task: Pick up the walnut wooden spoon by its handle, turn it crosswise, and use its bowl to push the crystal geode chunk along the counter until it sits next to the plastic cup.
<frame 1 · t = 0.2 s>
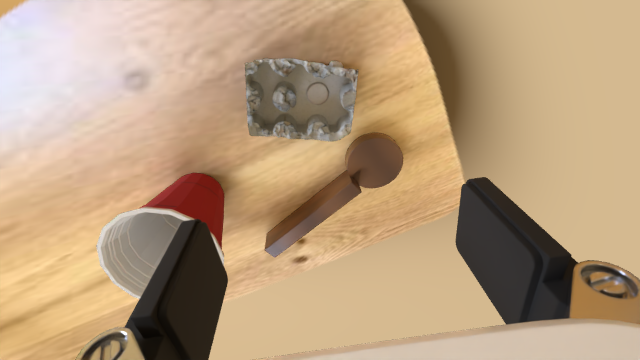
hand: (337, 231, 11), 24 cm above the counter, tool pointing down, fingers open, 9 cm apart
spoon: (327, 193, 38), on the counter
plastic cup: (199, 190, 37), on the counter
crystal geode chunk: (301, 94, 32), on the counter
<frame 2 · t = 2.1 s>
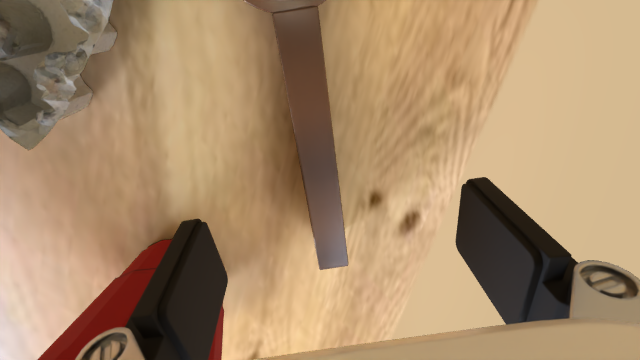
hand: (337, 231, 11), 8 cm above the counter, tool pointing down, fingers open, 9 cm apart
spoon: (307, 92, 17), on the counter
plastic cup: (179, 266, 22), on the counter
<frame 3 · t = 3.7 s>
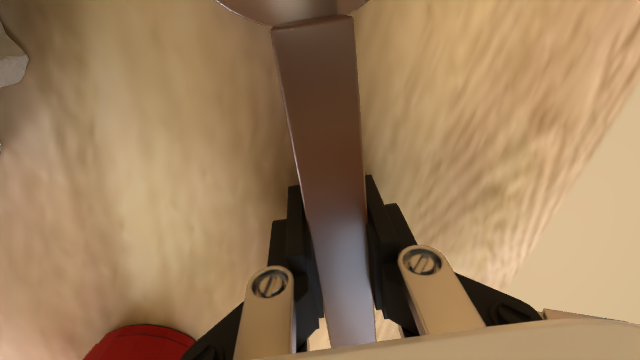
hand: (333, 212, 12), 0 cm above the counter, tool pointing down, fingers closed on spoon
spoon: (324, 140, 11), on the counter, touching gripper
plastic cup: (150, 353, 17), on the counter
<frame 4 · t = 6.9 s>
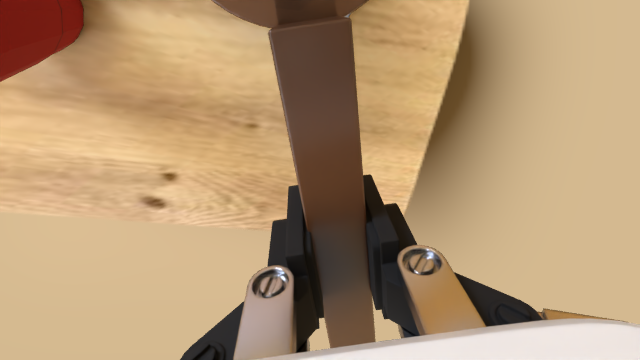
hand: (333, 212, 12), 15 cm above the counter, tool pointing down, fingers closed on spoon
spoon: (323, 140, 11), point 14 cm above the counter, touching gripper
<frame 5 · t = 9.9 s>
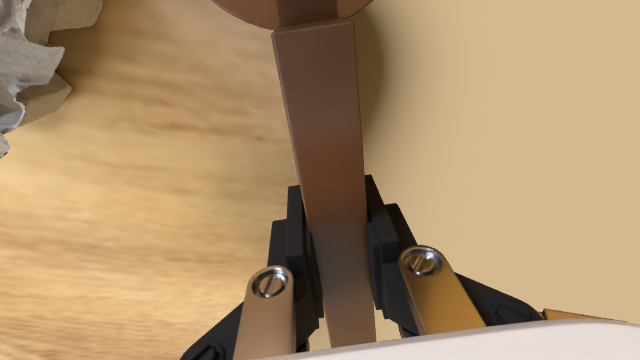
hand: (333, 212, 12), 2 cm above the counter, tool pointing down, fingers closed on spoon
spoon: (324, 142, 11), point 1 cm above the counter, touching gripper
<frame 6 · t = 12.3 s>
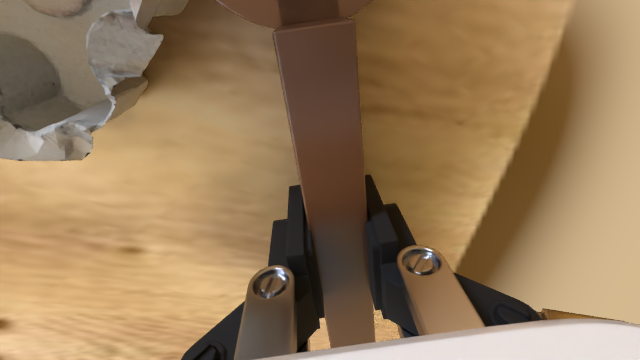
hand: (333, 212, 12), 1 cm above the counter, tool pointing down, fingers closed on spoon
spoon: (324, 140, 11), on the counter, touching crystal geode chunk, gripper
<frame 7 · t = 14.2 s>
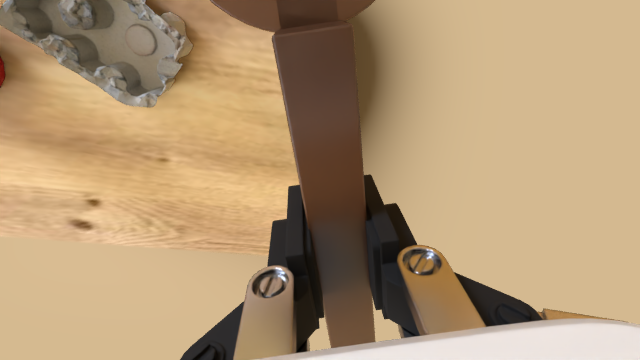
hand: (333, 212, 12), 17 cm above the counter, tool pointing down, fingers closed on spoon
spoon: (324, 142, 11), point 17 cm above the counter, touching gripper
crystal geode chunk: (120, 28, 24), on the counter
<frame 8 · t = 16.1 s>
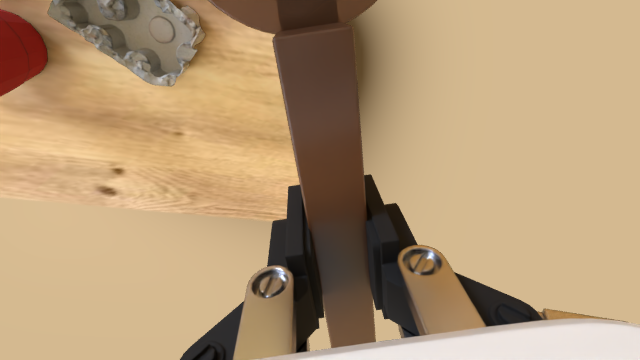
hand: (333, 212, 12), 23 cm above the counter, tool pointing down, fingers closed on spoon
spoon: (324, 143, 11), point 23 cm above the counter, touching gripper
plastic cup: (14, 41, 29), on the counter
crystal geode chunk: (144, 19, 29), on the counter
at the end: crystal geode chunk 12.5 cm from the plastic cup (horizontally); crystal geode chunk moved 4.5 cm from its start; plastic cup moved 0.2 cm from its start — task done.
